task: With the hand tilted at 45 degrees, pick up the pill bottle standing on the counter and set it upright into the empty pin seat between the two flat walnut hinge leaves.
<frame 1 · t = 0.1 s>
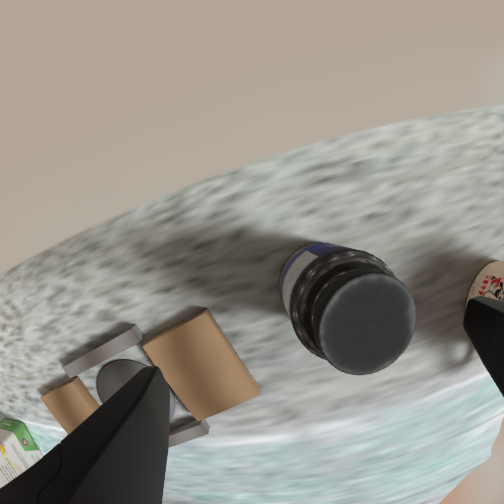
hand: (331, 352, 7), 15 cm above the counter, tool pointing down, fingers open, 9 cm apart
pill bottle: (316, 281, 23), on the counter
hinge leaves: (134, 396, 24), on the counter
teacup with lid: (489, 315, 24), on the counter
ink box: (28, 445, 25), on the counter
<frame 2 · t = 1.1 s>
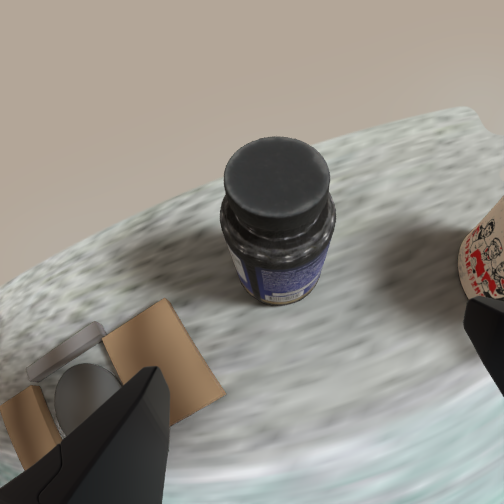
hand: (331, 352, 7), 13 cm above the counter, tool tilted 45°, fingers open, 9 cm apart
pill bottle: (278, 269, 23), on the counter
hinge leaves: (90, 409, 19), on the counter
teacup with lid: (495, 289, 20), on the counter
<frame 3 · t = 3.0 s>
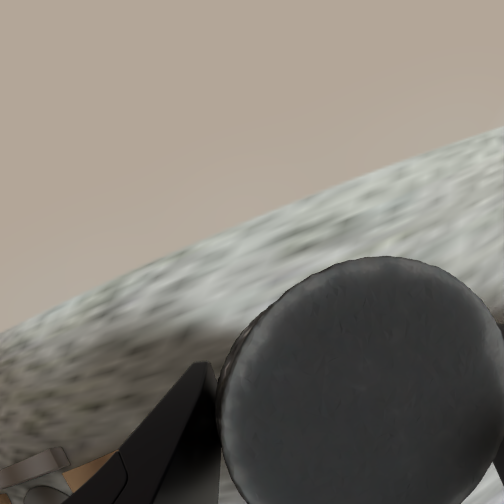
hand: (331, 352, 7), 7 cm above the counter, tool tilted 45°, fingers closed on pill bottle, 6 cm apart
pill bottle: (310, 395, 13), on the counter, touching gripper
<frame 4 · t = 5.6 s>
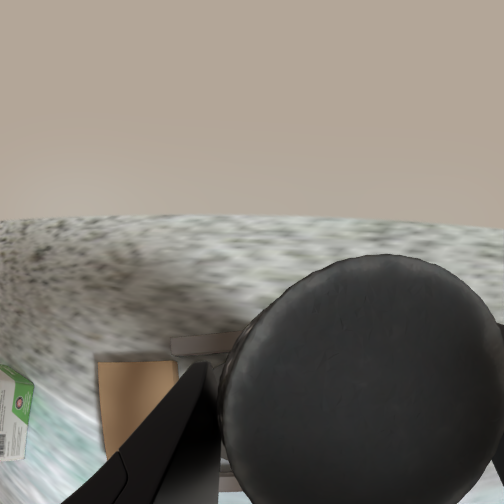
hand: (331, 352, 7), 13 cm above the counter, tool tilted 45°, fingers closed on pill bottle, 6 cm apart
pill bottle: (311, 393, 13), point 6 cm above the counter, touching gripper
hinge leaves: (246, 412, 18), on the counter
ink box: (15, 412, 19), on the counter
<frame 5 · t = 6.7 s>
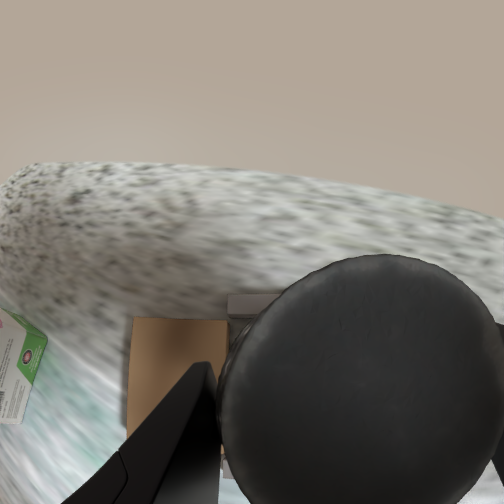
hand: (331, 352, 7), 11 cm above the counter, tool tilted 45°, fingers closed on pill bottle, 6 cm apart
pill bottle: (310, 393, 13), point 3 cm above the counter, touching gripper
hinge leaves: (303, 388, 17), on the counter
ink box: (19, 369, 18), on the counter
when the fingers open (8 cm above the counter, at t = 7.8 s): pill bottle stays where it is, resting on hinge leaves.
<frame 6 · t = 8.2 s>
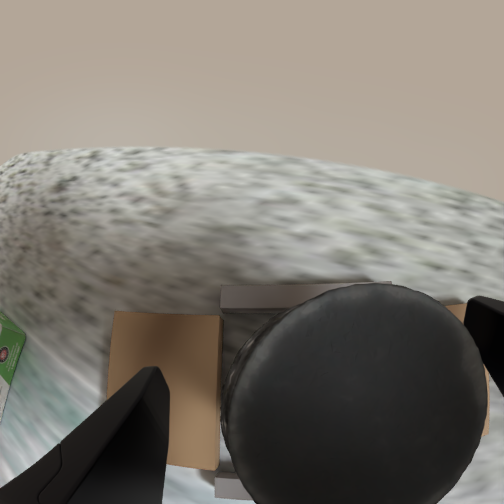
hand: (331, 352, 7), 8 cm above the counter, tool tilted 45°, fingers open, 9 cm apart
pill bottle: (310, 397, 14), resting on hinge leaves
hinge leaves: (309, 394, 14), on the counter
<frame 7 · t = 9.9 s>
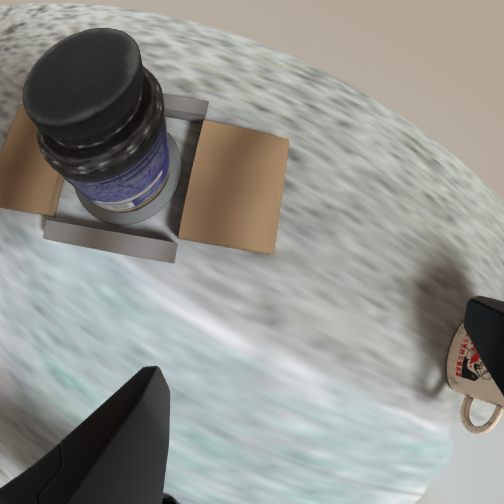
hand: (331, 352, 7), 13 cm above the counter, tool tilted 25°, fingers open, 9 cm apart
pill bottle: (126, 171, 19), resting on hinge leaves
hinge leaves: (126, 169, 19), on the counter
teacup with lid: (462, 365, 24), on the counter
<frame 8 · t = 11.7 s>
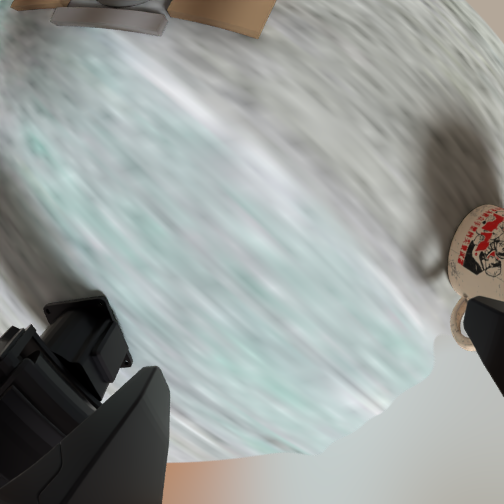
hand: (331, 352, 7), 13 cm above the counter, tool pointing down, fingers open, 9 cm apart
teacup with lid: (468, 261, 22), on the counter
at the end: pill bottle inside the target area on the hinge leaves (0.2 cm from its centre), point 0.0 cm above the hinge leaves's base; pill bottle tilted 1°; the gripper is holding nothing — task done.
